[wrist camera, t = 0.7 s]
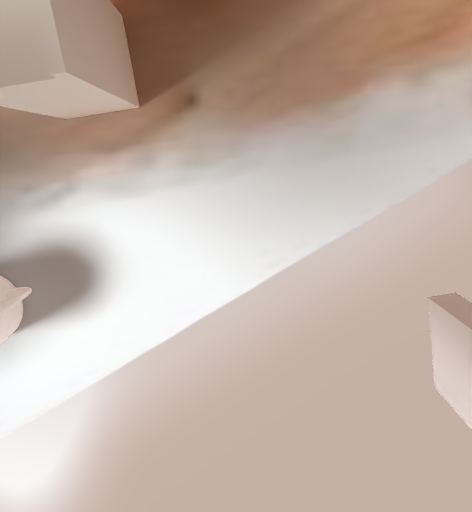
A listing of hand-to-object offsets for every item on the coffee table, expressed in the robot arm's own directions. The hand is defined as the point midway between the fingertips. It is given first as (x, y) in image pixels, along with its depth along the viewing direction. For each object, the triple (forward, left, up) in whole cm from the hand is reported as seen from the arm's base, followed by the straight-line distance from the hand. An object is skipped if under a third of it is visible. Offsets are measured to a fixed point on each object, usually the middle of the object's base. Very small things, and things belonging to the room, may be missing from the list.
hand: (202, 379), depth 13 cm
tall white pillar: (-12, +17, -39) cm, 44 cm away
